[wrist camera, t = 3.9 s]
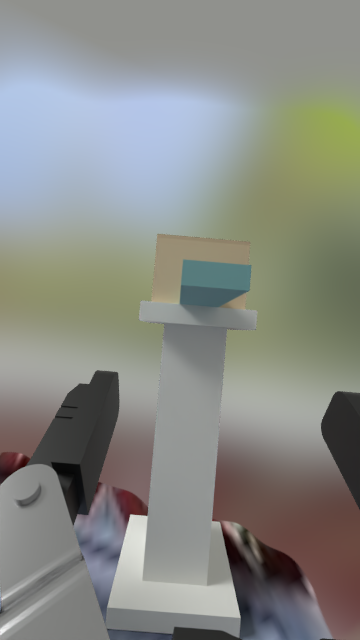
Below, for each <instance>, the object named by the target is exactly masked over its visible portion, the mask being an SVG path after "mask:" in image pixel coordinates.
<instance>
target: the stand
mask: <svg viewBox="0 0 360 640" xmlns="http://www.w3.org/2000/svg"><path fill="white" fill-rule="evenodd" d="M256 319H257V311H255V310H244V309H232V308H221V307H209V306H197V305H186V304H174V303H162V302H150V301H141V303H140V314H139V320H141V321H145V322H150V323H159V324H160V323H161V324H164V335H163V346H162V357H161V370H160V380H159V381H160V382H159V393H158V403H157V415H156V427H155V438H154V451H153V462H152V473H151V484H150V496H149V507H148V516H140V515H130V519H129V523H128V527H127V531H126V535H125V539H124V543H123V547H122V551H121V555H120V559H119V563H118V566H117V570H116V574H115V578H114V582H113V586H112V590H111V594H110V598H109V602H108V606H107V614H106V625H105V626H106V629H115V630H128V631H141V632H153V633H166V634H173V630H174V627H185V628H197V629H210V630H222V631H225V632H227V633H229V634H231V635H233V636H235V637H238V638H239V634H240V620H241V617H240V613H239V608H238V603H237V599H236V594H235V590H234V585H233V580H232V576H231V571H230V567H229V562H228V557H227V553H226V548H225V544H224V539H223V534H222V530H221V525H220V522H213V521H212V511H213V499H214V486H215V473H216V461H217V448H218V435H219V423H220V409H221V397H222V385H223V372H224V359H225V346H226V334H227V329H230V330H256Z"/></svg>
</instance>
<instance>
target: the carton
mask: <svg viewBox="0 0 360 640" xmlns="http://www.w3.org/2000/svg"><path fill="white" fill-rule="evenodd" d="M249 253H250V242H246V241H234V240H223V239H210V238H200V237H188V236H176V235H165V234H157V246H156V257H155V268H154V278H153V290H152V301H151V302H162V303H174V304H186V305H197V306H209V307H221V308H232V309H244V310H245V305H246V292H248V291H249V290H250V277H251V265H249Z"/></svg>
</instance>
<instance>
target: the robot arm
mask: <svg viewBox="0 0 360 640" xmlns="http://www.w3.org/2000/svg"><path fill="white" fill-rule="evenodd" d="M118 412H119V380H118V373H117V372H110V371H98V370H97V371H96V372H95V374H94V376H93V378H92V380H91V382H90V384H79V385H78V386H77V387H75V388H74V389H73V390H72V391H70V392H69V393H68V394H67V396H66V398H65V400H64V401H63V403H62V405H61V408H59V410H58V412H57V414H56V416H55V419H53V421H52V423H51V424H50V426H49V428H48V430H47V431H46V433H45V435H44V437H43V438H42V440H41V442H40V444H39V445H38V447H37V449H36V451H35V452H34V454H33V456H32V458H31V459H30V461H29V462H28V464H27V465H26V466H25V467H23V468H21V469H19V470H17V471H16V472H14V473H13V474H11V475H10V476H9V477H8V478H7V479H6V480H5V481H4V482H3V483H2V484H1V485H0V590H1V611H0V640H110V638H109V635H108V632H107V629H106V626H105V622H104V619H103V616H102V613H101V610H100V606H99V603H98V600H97V597H96V594H95V590H94V587H93V584H92V581H91V578H90V574H89V571H88V568H87V565H86V562H85V560H84V557H83V555H82V553H81V550H80V547H79V544H78V541H77V537H76V534H75V531H74V528H73V525H74V522H75V519H76V517H77V514H82V515H88V513H89V510H90V507H91V503H92V500H93V497H94V494H95V490H96V487H97V484H98V481H99V477H100V474H101V471H102V467H103V464H104V461H105V458H106V454H107V451H108V447H109V444H110V441H111V438H112V435H113V431H114V428H115V425H116V421H117V418H118ZM321 431H322V435H323V438H324V440H325V442H326V444H327V446H328V448H329V450H330V452H331V454H332V456H333V458H334V460H335V462H336V464H337V466H338V468H339V469H340V472H341V474H342V476H343V478H344V479H345V482H346V483H347V486H348V487H349V489H350V491H351V493H352V495H353V497H354V499H355V501H356V503H357V505H358V507H359V509H360V393H352V392H340V391H338V392H336V393H335V394H334V395H333V397H332V400H331V402H330V404H329V406H328V409H327V410H326V413H325V415H324V417H323V419H322V423H321ZM172 640H242V639H240V638H238V637H235V636H233V635H231V634H229V633H227V632H225V631H222V630H210V629H197V628H185V627H174V630H173V635H172ZM320 640H334V639H320Z"/></svg>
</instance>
